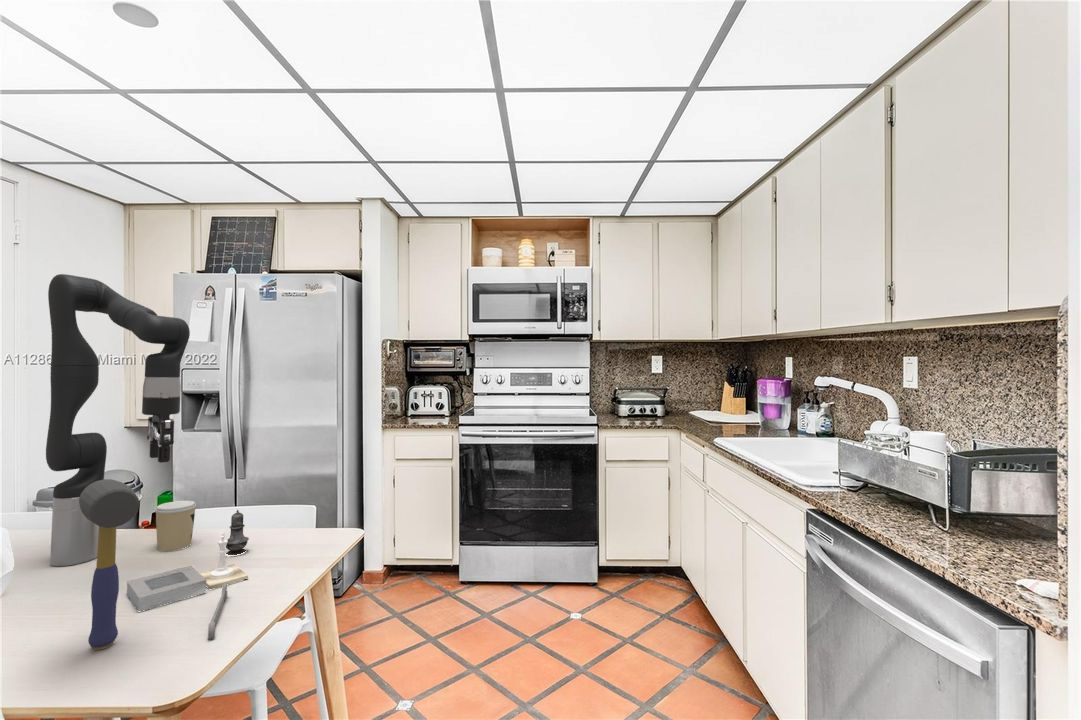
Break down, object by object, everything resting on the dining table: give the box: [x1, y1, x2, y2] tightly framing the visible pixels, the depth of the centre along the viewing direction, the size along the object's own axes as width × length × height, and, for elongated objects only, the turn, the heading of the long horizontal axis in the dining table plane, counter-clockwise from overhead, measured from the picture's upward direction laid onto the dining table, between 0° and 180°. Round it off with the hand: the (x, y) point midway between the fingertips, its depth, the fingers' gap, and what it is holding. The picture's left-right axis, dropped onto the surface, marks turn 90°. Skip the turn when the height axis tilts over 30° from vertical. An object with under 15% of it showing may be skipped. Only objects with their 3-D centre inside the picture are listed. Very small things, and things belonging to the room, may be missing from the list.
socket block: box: [126, 565, 207, 612], centre depth 109 cm, size 12×12×3 cm
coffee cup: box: [154, 500, 197, 553], centre depth 138 cm, size 9×9×12 cm
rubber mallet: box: [79, 478, 140, 651], centre depth 89 cm, size 12×8×30 cm, turn 50°
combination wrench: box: [207, 583, 228, 640], centre depth 100 cm, size 4×1×20 cm
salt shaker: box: [225, 509, 250, 555], centre depth 134 cm, size 6×6×12 cm
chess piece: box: [210, 532, 234, 579], centre depth 118 cm, size 5×5×10 cm
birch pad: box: [199, 563, 249, 590], centre depth 118 cm, size 10×8×1 cm
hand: (159, 459), depth 121 cm, fingers open, 8 cm apart
